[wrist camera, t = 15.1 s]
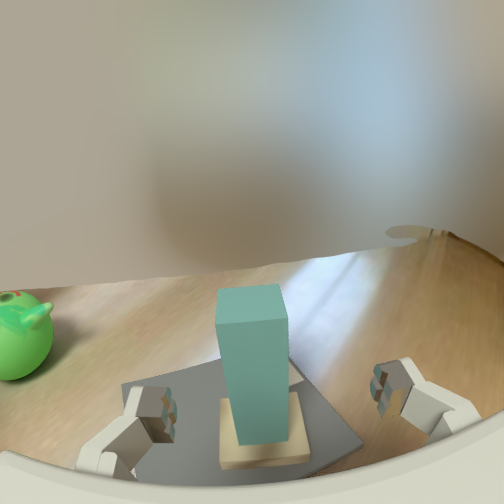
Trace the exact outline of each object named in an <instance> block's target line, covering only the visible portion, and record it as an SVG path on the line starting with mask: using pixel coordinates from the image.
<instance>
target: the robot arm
mask: <svg viewBox="0 0 504 504" xmlns="http://www.w3.org/2000/svg"><path fill="white" fill-rule="evenodd" d="M373 372H374V374H375V376H374V377H373V378H372V379H371V383H370V391H371V395H372V397H373V400H375V401H377V402H378V406H377V408H378V411H379V413H380V415H381V417H382V419H385V418H389V417H393V416H397V415H400V414H401V416H402V417H403V418H405V419H406V420H407V421H409V422H410V423H411V424H413V425H414V426H416V427H417V428H418V429H420V430H421V431H423V432H424V433H425V434H427V435H428V436H429V439H428V440H427V442H426V443H425V445H424V447H422V448H420V449H417V450H414V451H411V452H409V453H406V454H403V455H400V456H397V457H394V458H391V459H387V460H384V461H381V462H377V463H374V464H370V465H366V466H363V467H359V468H355V469H351V470H346V471H342V472H338V473H333V474H328V475H323V476H317V477H312V478H305V479H299V480H292V481H284V482H276V483H266V484H254V485H238V486H181V485H165V484H153V483H143V482H138V480H137V479H136V478H135V477H134V476H133V474H132V473H131V472H130V471H131V470H132V469H133V468H134V467H135V465H136V464H137V463H138V462H139V461H140V460H141V458H142V457H143V456H144V455H145V454H146V453H147V451H148V450H149V449H150V448H151V447H152V445H153V443H174V437H175V428H174V426H173V425H174V424H175V423H176V422H177V407H176V403H175V400H174V399H172V398H171V396H172V392H171V389H170V388H169V387H151V386H133V387H132V388H131V390H130V393H129V396H128V400H127V403H126V406H125V410H124V413H123V416H118V417H117V418H116V419H115V420H114V421H112V422H111V423H110V424H109V425H108V426H106V427H105V428H104V429H103V430H102V431H100V432H99V433H98V434H97V435H96V436H94V437H93V438H92V439H91V440H90V441H88V442H87V443H86V444H85V445H83V446H82V448H81V451H80V454H79V457H78V460H77V464H76V467H75V470H71V469H67V468H63V467H59V466H56V465H52V464H49V463H46V462H42V461H39V460H36V459H33V458H30V457H27V456H24V455H21V454H19V453H16V452H13V451H10V450H4V451H2V452H0V504H504V409H502V410H501V411H499V412H497V413H495V414H494V415H492V416H490V417H488V418H486V419H484V420H482V418H481V417H480V415H479V413H478V412H477V410H476V409H475V407H474V406H473V404H472V403H471V402H470V401H469V400H467V399H465V398H463V397H460V396H458V395H456V394H454V393H452V392H450V391H448V390H446V389H444V388H442V387H440V386H438V385H436V384H434V383H432V382H430V381H427V382H426V381H425V379H424V378H423V376H422V375H421V373H420V372H419V370H418V369H417V367H416V366H415V364H414V363H413V361H412V360H411V358H409V357H406V358H402V359H398V360H394V361H389V362H385V363H381V364H377V365H376V366H375V367H374V371H373Z"/></svg>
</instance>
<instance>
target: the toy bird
mask: <svg viewBox="0 0 504 504" xmlns="http://www.w3.org/2000/svg"><path fill="white" fill-rule="evenodd" d="M53 307H54V305H53V303H44V304H42V303H41V302H40V301H39V300H38V299H37V298H36V297H34V296H33V295H31V294H28V293H26V292H22V291H6V292H2V293H0V380H14V379H18V378H21V377H24V376H26V375H28V374H29V373H31V372H32V371H34V370H35V369H36V368H37V367H38V366H39V365H40V364H41V363H42V362H43V361H44V359H45V358H46V357H47V355H48V353H49V351H50V349H51V346H52V342H53V324H52V320H51V317H50V315H49V313H50V312H51V311H52V309H53Z"/></svg>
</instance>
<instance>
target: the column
mask: <svg viewBox="0 0 504 504" xmlns="http://www.w3.org/2000/svg"><path fill="white" fill-rule="evenodd" d="M215 327H216V333H217V338H218V344H219V349H220V355H221V360H222V366H223V371H224V376H225V381H226V386H227V391H228V396H229V401H230V406H231V411H232V416H233V421H234V425H235V430H236V435H237V439H238V444H239V446H244V445H258V444H269V443H278V442H286V441H288V407H289V347H288V315H287V312H286V308H285V304H284V301H283V297H282V294H281V290H280V286H279V284H270V285H260V286H249V287H237V288H226V289H218V296H217V308H216V319H215Z"/></svg>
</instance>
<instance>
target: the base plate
mask: <svg viewBox="0 0 504 504" xmlns="http://www.w3.org/2000/svg"><path fill="white" fill-rule="evenodd" d="M133 386H151V387H169V388H170V389H171V392H172V396H171V398H172V399H174V400H175V403H176V407H177V422H176V423H175V424H174V425H173V426H174V428H175V437H174V443H153V445H152V447H151V448H150V449H149V450H148V451H147V453H146V454H145V455H144V456H143V457H142V458H141V460H140V461H139V462H138V463H137V464H136V465H135V467H134V468H135V472H136V477H137V480H138V482H143V483H153V484H165V485H181V486H238V485H254V484H266V483H276V482H284V481H292V480H299V479H304V478H306V477H308V476H310V475H312V474H314V473H316V472H318V471H320V470H322V469H324V468H326V467H328V466H330V465H332V464H334V463H336V462H338V461H339V460H341V459H343V458H345V457H347V456H348V455H350V454H352V453H354V452H355V451H357V450H359V449H360V448H362V447H363V445H364V442H363V441H362V440H361V439H360V438H359V437H358V435H357V434H356V433H355V432H354V431H353V430H352V429H351V428H350V427H349V425H348V424H347V423H346V422H345V421H344V420H343V419H342V418H341V417H340V415H339V414H338V413H337V412H336V411H335V410H334V409H333V408H332V406H331V405H330V404H329V403H328V402H327V401H326V400H325V398H324V397H323V396H322V395H321V394H320V393H319V392H318V390H317V389H316V388H315V387H314V386H313V385H312V384H311V382H310V381H309V380H308V379H307V378H306V377H305V375H304V374H303V373H302V372H301V371H300V370H299V368H298V367H297V366H296V365H295V364H294V363H293V361H292V360H291V359H290V358H289V407H288V441H286V442H278V443H269V444H258V445H244V446H239V444H238V439H237V435H236V430H235V425H234V421H233V416H232V411H231V406H230V401H229V396H228V391H227V386H226V381H225V376H224V371H223V366H222V360H221V359H218V360H214V361H211V362H207V363H204V364H200V365H197V366H193V367H190V368H186V369H182V370H179V371H175V372H171V373H167V374H163V375H159V376H155V377H151V378H147V379H143V380H138V381H134V382H129V383H125V384H122V393H123V402H124V409H125V406H126V403H127V400H128V396H129V393H130V390H131V388H132V387H133Z"/></svg>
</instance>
